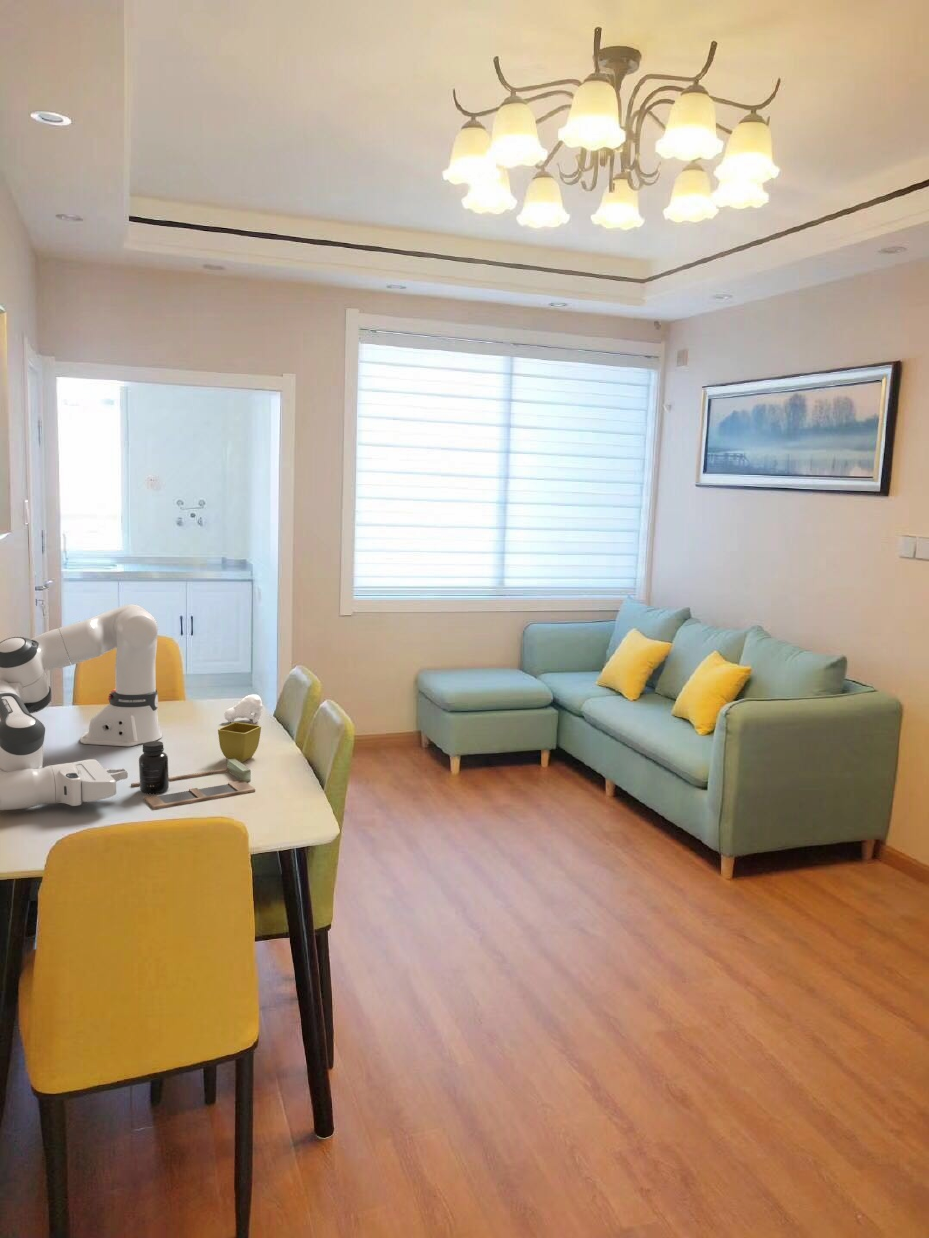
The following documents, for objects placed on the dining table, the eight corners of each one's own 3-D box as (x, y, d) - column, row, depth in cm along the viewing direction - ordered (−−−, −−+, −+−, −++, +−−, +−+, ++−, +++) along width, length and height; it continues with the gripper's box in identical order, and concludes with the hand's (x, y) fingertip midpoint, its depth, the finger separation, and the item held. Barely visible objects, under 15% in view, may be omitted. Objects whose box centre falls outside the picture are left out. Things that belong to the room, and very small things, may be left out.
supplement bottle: (143, 785, 230) (142, 739, 228) (171, 785, 230) (170, 739, 229) (136, 795, 223) (135, 747, 221) (165, 795, 224) (164, 747, 222)
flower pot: (262, 756, 256) (262, 725, 255) (245, 765, 248) (244, 733, 247) (235, 752, 259) (234, 721, 258) (217, 761, 251) (216, 729, 250)
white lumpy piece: (262, 695, 290) (224, 702, 285) (265, 721, 291) (227, 728, 287) (258, 691, 295) (221, 697, 291) (261, 716, 297) (224, 723, 293)
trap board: (153, 809, 214) (153, 797, 213) (131, 785, 229) (130, 774, 229) (262, 790, 229) (262, 778, 229) (234, 769, 245) (234, 758, 244)
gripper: (56, 782, 223) (115, 773, 231) (75, 808, 206) (138, 798, 214) (55, 757, 222) (114, 749, 230) (74, 781, 205) (137, 772, 213)
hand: (126, 773), depth 222 cm, fingers closed
